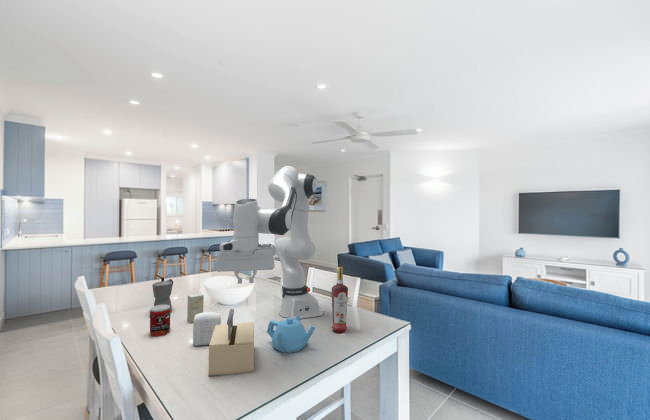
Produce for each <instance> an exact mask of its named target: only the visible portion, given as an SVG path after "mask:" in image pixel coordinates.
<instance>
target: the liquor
mask: <svg viewBox="0 0 650 420" xmlns="http://www.w3.org/2000/svg"><path fill="white" fill-rule="evenodd" d="M343 273H344V267H343V266H337V267H336V274H337V276H336V284H334V285H333V286H332V287H331V305H332V306H331V307H332V326H331V329H332V330H333V331H334V332H336V333H338V334H339V333H341V334H342V333H345V331H346V330H347V329H348V326H347V316H348V315H347V313H348V312H347V311H348V298H349V296H348V295H349V288H348V286H347V285H345V284H344V278H343V277H344V275H343Z"/></svg>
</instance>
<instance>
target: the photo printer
mask: <svg viewBox="0 0 650 420" xmlns="http://www.w3.org/2000/svg"><path fill="white" fill-rule="evenodd" d="M216 325H222V319H221V313H219V312H215V311H203V313H199V314H197V315H195V317H194V321H193V329H192V330H193V331H192V345H193V346H194V347H195V346H197V347H198V346H207V345H208V346H209V345H210V342H211V338H212V335H213V332H214V329H215V326H216Z"/></svg>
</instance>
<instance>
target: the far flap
mask: <svg viewBox="0 0 650 420" xmlns="http://www.w3.org/2000/svg"><path fill="white" fill-rule="evenodd" d="M234 314H235V309H234V308H230V309H229V312H228V316H227V321H226V324H225V323H224V324H223V323H221V325H216V326H215V329H214V332H213V335H212V338H211V342H210V345H208V348H209V347H219V346H229V342H230V340H231V331H232V327H233V325H234Z"/></svg>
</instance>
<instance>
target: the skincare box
mask: <svg viewBox="0 0 650 420" xmlns="http://www.w3.org/2000/svg"><path fill="white" fill-rule="evenodd" d="M204 298H205V297H204V294H202V293H201V292H200V293H195V294H189V295H187V317H186V318H187V319H186V321H187V322H188V323H190V324H191V323H193V321H194V317H195V315H197V314H199V313H203V312H204Z"/></svg>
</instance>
